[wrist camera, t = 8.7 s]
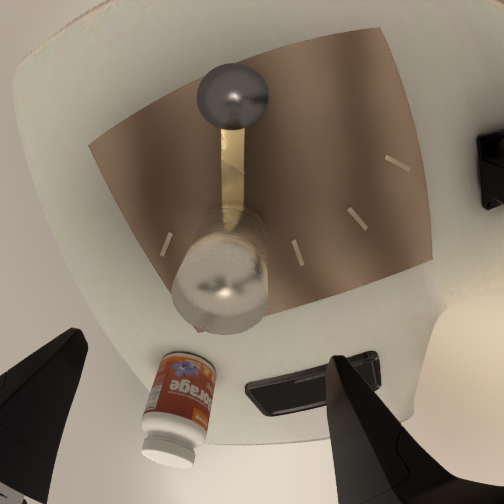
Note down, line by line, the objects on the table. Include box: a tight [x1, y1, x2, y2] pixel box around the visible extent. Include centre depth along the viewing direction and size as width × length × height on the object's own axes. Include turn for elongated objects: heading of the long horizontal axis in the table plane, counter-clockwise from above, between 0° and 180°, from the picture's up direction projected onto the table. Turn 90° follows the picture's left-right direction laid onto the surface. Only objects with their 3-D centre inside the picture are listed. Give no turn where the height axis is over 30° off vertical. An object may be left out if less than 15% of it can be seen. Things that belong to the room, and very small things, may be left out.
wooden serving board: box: [88, 27, 432, 333], centre depth 17 cm, size 20×17×2 cm
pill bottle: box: [141, 353, 216, 468], centre depth 23 cm, size 6×6×11 cm
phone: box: [245, 351, 381, 417], centre depth 28 cm, size 8×1×15 cm
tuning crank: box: [171, 63, 269, 335], centre depth 13 cm, size 13×4×7 cm, turn 179°
